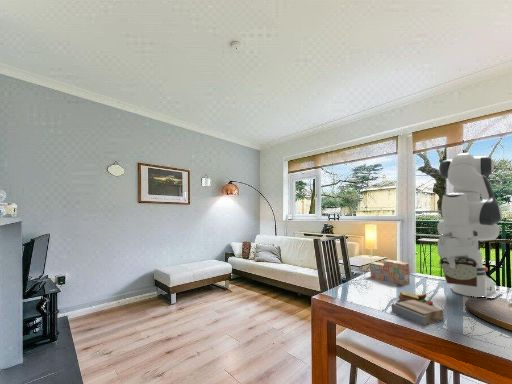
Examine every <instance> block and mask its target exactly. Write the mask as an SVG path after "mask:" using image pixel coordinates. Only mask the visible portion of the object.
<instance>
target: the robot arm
mask: <svg viewBox="0 0 512 384" xmlns="http://www.w3.org/2000/svg"><path fill="white" fill-rule="evenodd" d="M494 169H495V163H494V161H493V159H492V158H491V157H490V156H485V155H484V156H474V155H472V154H469V153H464V152H463V153H459V154H456V155H455V156H454V157H453V158H452V159H449V158H448V159H445V160H443V161H440V163H439V167H438V173H439V175H440V177H441V178H443V179H447V180H448V182H449V184H451V186H453V187H452V188H453V190H452V191H453V192H451V193H450V192H448V193H446V194H443V195H442V199H441V207H440V217H441V218H442V219H441V220H440V221H439V222H438V223H437V226H436V227H437V231H438V233H439V235H440V236H439V238H438V240H437V255H438V257H441V258H443V257H445V258H447V260H448V262H449V265H450V268H453V269H454V268H457V264H455V261H454V260H455V257H459V256H465V257H469V258H472V259H474V260H475V261H476V262H477V263H478V265H479V267H478V265H477V287H472V286H464V285H456V284H451V285H450V286H449V289H451V290H452V291H453V292H454V293H456V294H459V295H463V296H466V297H471V296H472V298H477V297H482V296H484V297H492V296H493V297H495V296H497V295H498V294H500V293H502V292H501V291H500V290H496V287H495V285H496V284H495V282H494V281H493V280H492V279H491V278H490V277H489V276H488V275H487V273H486V272H488V270H489V269H488V267H485V266H484V265H483V254H482V252H481V251H480V250H479V241H481V242H482V241H484V242H485V241H494V240H496V239H497V238H498V236H500V227H499V225H498V224H497V223H499V222H500V221H502V220H501V219H502V216H503V211H502V208H501V206H500V205H499V204H498V201H497V200H496V197H495V193H494V191H493V189H492V186H491V183H490V181H489V179H488V178H487V177H489V176H491V174H492V173H493V171H494ZM473 296H474V297H473Z"/></svg>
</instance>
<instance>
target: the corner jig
mask: <svg viewBox="0 0 512 384" xmlns="http://www.w3.org/2000/svg"><path fill="white" fill-rule="evenodd" d="M408 301H409V300H408ZM398 302H399V301H398ZM398 302H394V303H391V312H394V313H395V314H398V315H400V316H402V317H405V318H407V319H409V320H412V321H414V322H417V323H419V324H421V325H423V326H427V325H428V323H427V319H426V316H424V315H421V314H419V313H416V312H414V311H411V310H409V309H406V308H404V307H401V306H399V305H396V303H398ZM403 302H404V301H403Z"/></svg>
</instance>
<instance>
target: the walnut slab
mask: <svg viewBox="0 0 512 384" xmlns="http://www.w3.org/2000/svg"><path fill="white" fill-rule="evenodd" d="M395 303H396V305H399V306H401V307H404V308H406V309H409V310H411V311H414V312H416V313H419V314H421V315H424V316H426V319H427V324H428V323H429V324H430V323H433V322H437V321H443V320H444V312H443V311H444V310H443V309H441V308H439V307H436V306H434V305H433V306H430V305H428V304H425V303H422V302H419V301H416V300H409V301H404V302H402V301H398V303H397V302H395Z"/></svg>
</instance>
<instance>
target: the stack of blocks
mask: <svg viewBox="0 0 512 384" xmlns="http://www.w3.org/2000/svg"><path fill="white" fill-rule="evenodd" d="M369 267H370V269H369V270H370V273H369V274H370V278H373V279H376V280H381V281H384V282H389V283H393V284H396V285H402V286H407V285H410V284H411V283H410V263H408V262H404V261H399V260H392V259H385V260H383V263H382V262H377V261H373V262H369Z"/></svg>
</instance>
